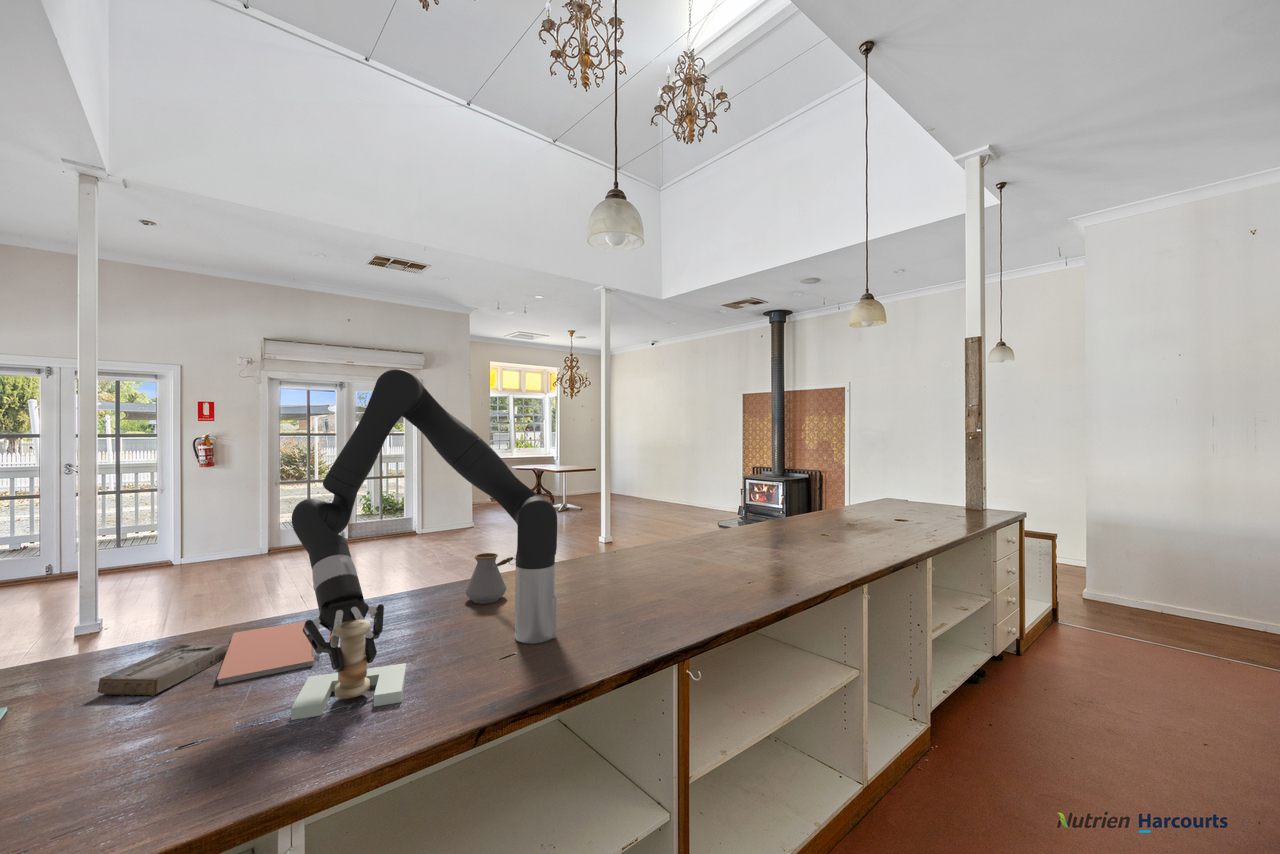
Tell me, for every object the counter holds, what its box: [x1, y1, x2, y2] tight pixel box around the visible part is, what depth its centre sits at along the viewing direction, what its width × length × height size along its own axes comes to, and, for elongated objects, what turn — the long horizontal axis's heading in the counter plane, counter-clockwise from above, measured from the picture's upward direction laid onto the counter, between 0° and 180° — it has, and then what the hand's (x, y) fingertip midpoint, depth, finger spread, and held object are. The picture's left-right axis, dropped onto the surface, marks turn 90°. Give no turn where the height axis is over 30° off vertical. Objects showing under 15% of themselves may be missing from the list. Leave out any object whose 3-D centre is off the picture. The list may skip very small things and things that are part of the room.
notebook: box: [216, 619, 321, 685], centre depth 115 cm, size 27×17×2 cm, turn 33°
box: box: [97, 643, 229, 697], centre depth 103 cm, size 11×17×3 cm, turn 1°
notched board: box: [290, 662, 407, 721], centre depth 96 cm, size 17×12×2 cm
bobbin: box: [334, 619, 371, 700], centre depth 95 cm, size 6×6×12 cm
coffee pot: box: [465, 552, 516, 605], centre depth 147 cm, size 21×12×15 cm, turn 43°
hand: (356, 664), depth 93 cm, fingers closed on bobbin, 4 cm apart
